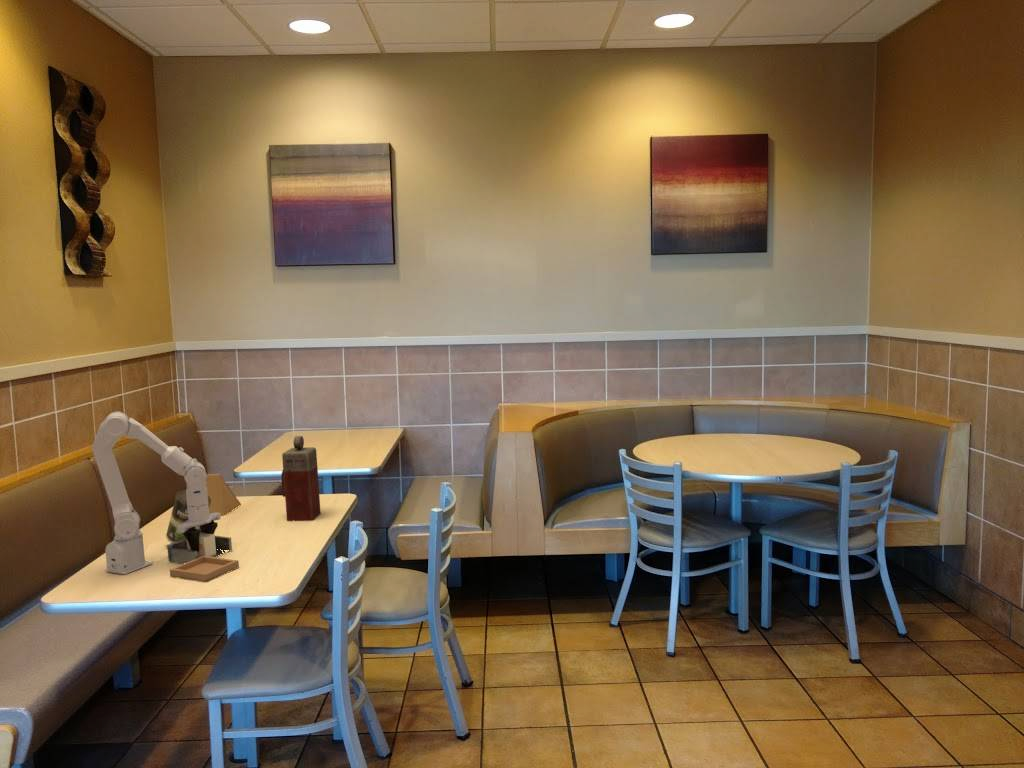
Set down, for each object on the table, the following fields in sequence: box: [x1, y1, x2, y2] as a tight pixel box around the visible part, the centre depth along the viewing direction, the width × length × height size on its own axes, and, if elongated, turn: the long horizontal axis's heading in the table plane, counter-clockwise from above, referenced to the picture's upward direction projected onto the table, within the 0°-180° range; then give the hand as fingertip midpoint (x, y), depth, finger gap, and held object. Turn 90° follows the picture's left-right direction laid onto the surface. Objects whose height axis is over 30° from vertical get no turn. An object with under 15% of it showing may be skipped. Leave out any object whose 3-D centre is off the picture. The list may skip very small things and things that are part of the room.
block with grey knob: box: [187, 533, 216, 558], centre depth 233 cm, size 4×7×7 cm, turn 65°
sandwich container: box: [205, 473, 242, 517], centre depth 284 cm, size 9×15×15 cm, turn 175°
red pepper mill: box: [280, 435, 322, 522], centre depth 270 cm, size 9×11×28 cm
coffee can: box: [165, 489, 211, 544], centre depth 244 cm, size 10×10×14 cm
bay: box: [166, 532, 233, 564], centre depth 233 cm, size 14×10×5 cm
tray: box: [169, 556, 240, 583], centre depth 219 cm, size 12×13×2 cm
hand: (201, 549), depth 233 cm, fingers closed on block with grey knob, 4 cm apart
